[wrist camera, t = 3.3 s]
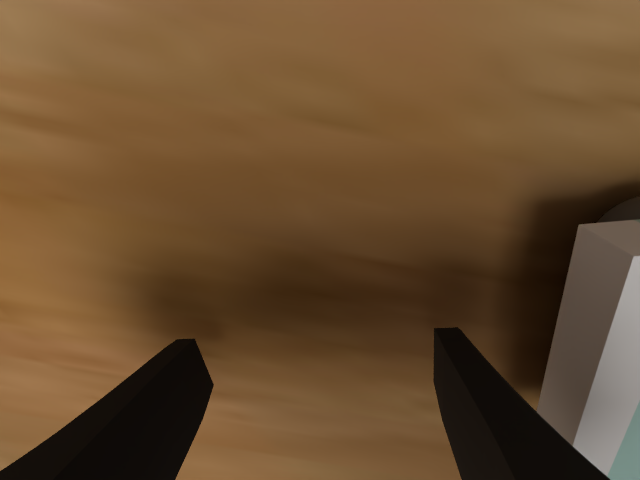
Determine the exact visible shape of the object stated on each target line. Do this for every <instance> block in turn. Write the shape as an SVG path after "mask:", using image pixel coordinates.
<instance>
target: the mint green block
mask: <svg viewBox="0 0 640 480" xmlns="http://www.w3.org/2000/svg"><path fill="white" fill-rule="evenodd" d="M536 412H537V413H538V414H539V415H540V416H541V417H542V418H543V419H544V420H545V421H546V422H548V423H549V424H550V425H551V426H552V427H553V428H554V429H555V430H556V431H557V432H558V433H559V434H560V435H561V436H562V437H563V438H564V439H566V440H567V441H568V442H569V443H570V444H571V445H572V446H573V447H574V448H575V449H576V450H578V451H579V452H580V453H581V454H582V455H583V456H584V457H585V458H586V459H588V460H589V461H590V462H591V463H592V464H593V465H594V466H595V467H597V468H598V469H599V470H600V471H601V472H602V473H604V474H605V475H606V476H607V477H608V478H609V479H611V480H640V196H638V197H635V198H632V199H629V200H627V201H624V202H622V203H620V204H618V205H616V206H615V207H613V208H612V209H610V210H609V211H608V212H606V213H605V214H604V215H603V216H602V217H601V218H600V219H599V221H598V222H597V223H590V224H579V226H578V230H577V235H576V239H575V243H574V248H573V252H572V257H571V261H570V266H569V270H568V274H567V279H566V283H565V288H564V292H563V297H562V301H561V305H560V310H559V314H558V319H557V323H556V327H555V332H554V336H553V341H552V345H551V350H550V354H549V358H548V363H547V367H546V372H545V376H544V381H543V385H542V389H541V394H540V398H539V403H538V407H537V411H536Z"/></svg>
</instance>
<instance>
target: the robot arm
mask: <svg viewBox="0 0 640 480" xmlns="http://www.w3.org/2000/svg"><path fill="white" fill-rule="evenodd" d="M213 385H214V384H213V382H212V380H211V377H210V375H209V372H208V370H207V367H206V365H205V363H204V360H203V358H202V355H201V353H200V351H199V348H198V346H197V343H196V341H195V339H177V340H175V341H174V342H173V343H171V344H170V345H168V346H167V347H166V348H164V349H163V350H162V351H161V352H159V353H158V354H157V355H155V356H154V357H153V358H152V359H150V360H149V361H148V362H147V363H145V364H144V365H143V366H142V367H140V368H139V369H138V370H137V371H136V372H134V373H133V374H132V375H131V376H129V377H128V378H127V379H126V380H124V381H123V382H122V383H121V384H119V385H118V386H117V387H116V388H114V389H113V390H112V391H111V392H109V393H108V394H107V395H105V396H104V397H103V398H102V399H100V400H99V401H98V402H96V403H95V404H94V405H92V406H91V407H90V408H88V409H87V410H86V411H84V412H83V413H82V414H81V415H79V416H78V417H77V418H75V419H74V420H73V421H71V422H70V423H69V424H67V425H66V426H65V427H63V428H62V429H61V430H59V431H58V432H57V433H55V434H54V435H52V436H51V437H50V438H48V439H47V440H45V441H44V442H43V443H41V444H40V445H38V446H37V447H35V448H34V449H33V450H31V451H30V452H28V453H27V454H25V455H24V456H22V457H21V458H19V459H18V460H16V461H15V462H13V463H12V464H10V465H9V466H7V467H6V468H4V469H3V470H1V471H0V480H175V479H176V477H177V474H178V472H179V470H180V468H181V466H182V464H183V461H184V459H185V457H186V455H187V453H188V451H189V448H190V446H191V444H192V442H193V440H194V437H195V435H196V433H197V431H198V429H199V426H200V424H201V422H202V419H203V417H204V414H205V411H206V408H207V405H208V402H209V398H210V395H211V392H212V389H213ZM434 385H435V390H436V394H437V399H438V403H439V408H440V412H441V417H442V421H443V424H444V427H445V430H446V433H447V436H448V439H449V442H450V445H451V448H452V451H453V454H454V457H455V460H456V463H457V466H458V469H459V472H460V475H461V478H462V480H611V479H609V478H608V477H607V476H606V475H605V474H604V473H602V472H601V471H600V470H599V469H598V468H597V467H595V466H594V465H593V464H592V463H591V462H590V461H589V460H588V459H586V458H585V457H584V456H583V455H582V454H581V453H580V452H579V451H578V450H576V449H575V448H574V447H573V446H572V445H571V444H570V443H569V442H568V441H567V440H566V439H564V438H563V437H562V436H561V435H560V434H559V433H558V432H557V431H556V430H555V429H554V428H553V427H552V426H551V425H550V424H549V423H548V422H546V421H545V420H544V419H543V418H542V417H541V416H540V415H539V414H538V413H537V412H536V411H535V410H534V409H533V408H532V407H531V406H530V405H529V404H528V403H527V402H526V401H525V400H524V399H523V398H522V397H521V396H520V395H519V394H518V393H517V392H516V391H515V390H514V389H513V388H512V387H511V385H510V384H509V383H508V382H507V381H506V380H505V379H504V378H503V377H502V376H501V375H500V374H499V373H498V372H497V371H496V370H495V369H494V367H493V366H492V365H491V364H490V363H489V362H488V361H487V360H486V359H485V358H484V356H483V355H482V354H481V353H480V352H479V351H478V350H477V348H476V347H475V346H474V345H473V344H472V343H471V341H470V340H469V339H468V338H467V337H466V336H465V334H464V333H463V332H462V331H461V330H460V329H459V328H458V327H455V328H434Z"/></svg>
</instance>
